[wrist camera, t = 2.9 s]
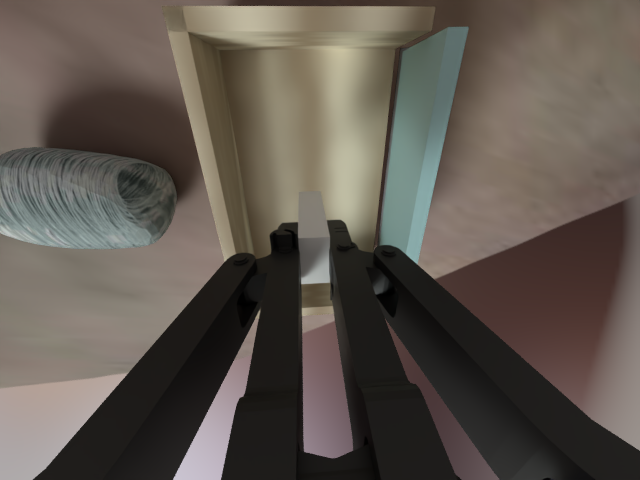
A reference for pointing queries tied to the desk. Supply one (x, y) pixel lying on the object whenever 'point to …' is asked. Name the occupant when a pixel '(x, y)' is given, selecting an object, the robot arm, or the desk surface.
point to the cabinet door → (418, 136)
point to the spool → (83, 199)
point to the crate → (290, 114)
